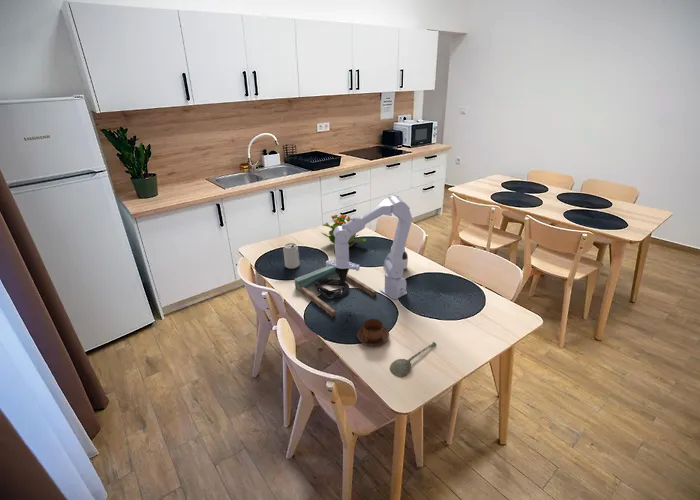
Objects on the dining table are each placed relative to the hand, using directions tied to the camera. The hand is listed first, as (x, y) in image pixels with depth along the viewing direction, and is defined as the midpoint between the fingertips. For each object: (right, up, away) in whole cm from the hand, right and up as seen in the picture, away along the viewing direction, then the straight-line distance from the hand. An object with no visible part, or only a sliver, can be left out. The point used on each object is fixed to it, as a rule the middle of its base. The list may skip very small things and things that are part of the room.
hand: (343, 282), depth 155 cm
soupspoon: (+25, -24, -31) cm, 47 cm away
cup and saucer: (+12, -19, -20) cm, 30 cm away
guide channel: (-4, -5, +8) cm, 10 cm away
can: (-27, +5, +31) cm, 41 cm away
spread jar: (+26, +4, +25) cm, 36 cm away
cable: (-6, -5, +10) cm, 13 cm away
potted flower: (+1, +17, +53) cm, 56 cm away
